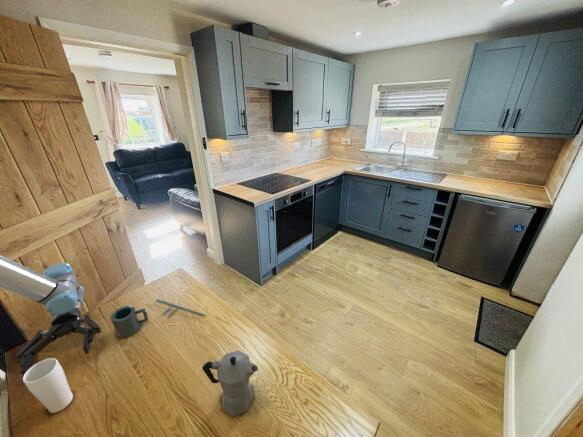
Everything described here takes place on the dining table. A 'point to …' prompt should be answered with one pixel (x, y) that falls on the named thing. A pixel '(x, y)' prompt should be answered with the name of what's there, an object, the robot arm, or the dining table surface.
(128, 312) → the mug
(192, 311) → the grey pronged rod
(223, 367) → the coffeepot
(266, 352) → the dining table surface
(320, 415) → the dining table surface
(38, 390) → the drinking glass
